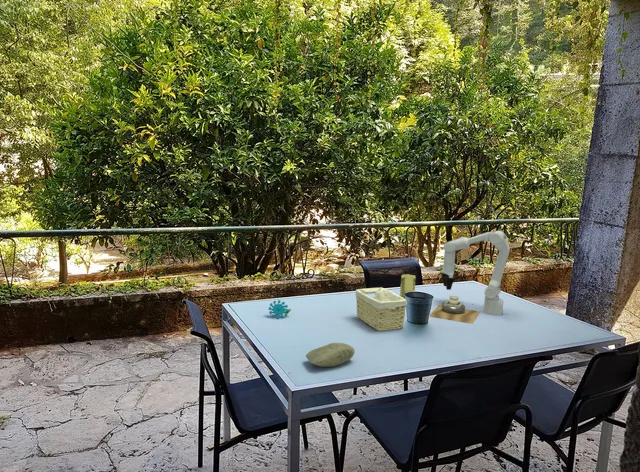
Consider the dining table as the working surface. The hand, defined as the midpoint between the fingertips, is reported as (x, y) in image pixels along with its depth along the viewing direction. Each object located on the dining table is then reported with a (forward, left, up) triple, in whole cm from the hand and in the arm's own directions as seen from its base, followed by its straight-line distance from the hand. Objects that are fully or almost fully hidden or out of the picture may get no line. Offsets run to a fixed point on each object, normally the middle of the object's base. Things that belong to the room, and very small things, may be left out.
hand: (447, 287), depth 285 cm
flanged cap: (-6, +10, -6) cm, 13 cm away
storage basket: (+22, +48, -11) cm, 54 cm away
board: (-8, +15, -10) cm, 20 cm away
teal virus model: (+68, +65, -11) cm, 94 cm away
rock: (+21, +105, -11) cm, 108 cm away
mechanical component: (+23, -2, -11) cm, 25 cm away
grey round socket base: (-6, +10, -9) cm, 15 cm away
